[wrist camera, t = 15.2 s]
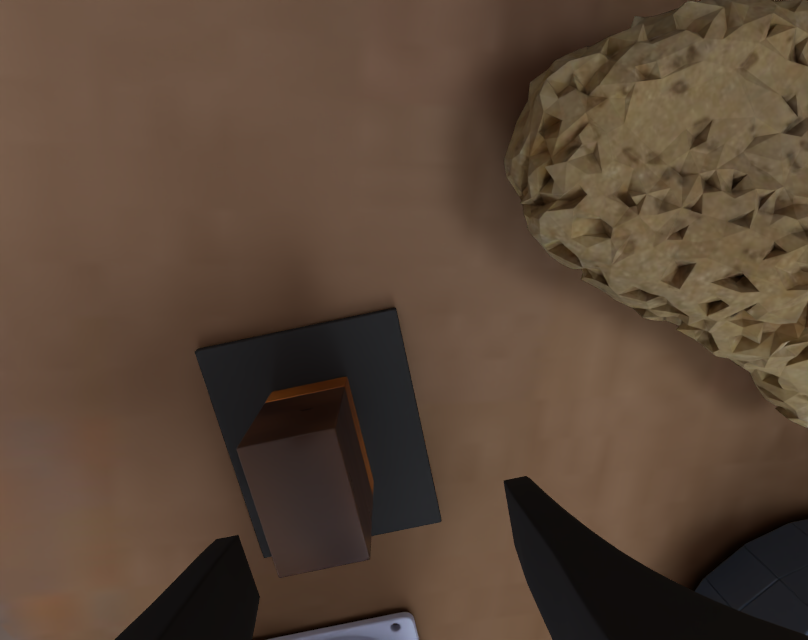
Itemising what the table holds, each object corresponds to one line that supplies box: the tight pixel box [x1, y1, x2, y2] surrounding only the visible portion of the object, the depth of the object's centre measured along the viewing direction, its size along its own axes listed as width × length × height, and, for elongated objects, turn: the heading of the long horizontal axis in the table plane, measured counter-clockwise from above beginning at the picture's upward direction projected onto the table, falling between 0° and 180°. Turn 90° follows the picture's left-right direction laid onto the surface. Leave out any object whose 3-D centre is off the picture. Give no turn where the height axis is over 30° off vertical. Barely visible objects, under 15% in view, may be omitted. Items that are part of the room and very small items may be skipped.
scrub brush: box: [237, 377, 374, 578], centre depth 19 cm, size 4×6×5 cm, turn 12°
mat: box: [195, 308, 441, 558], centre depth 21 cm, size 9×11×1 cm
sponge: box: [504, 0, 808, 428], centre depth 17 cm, size 13×8×20 cm
